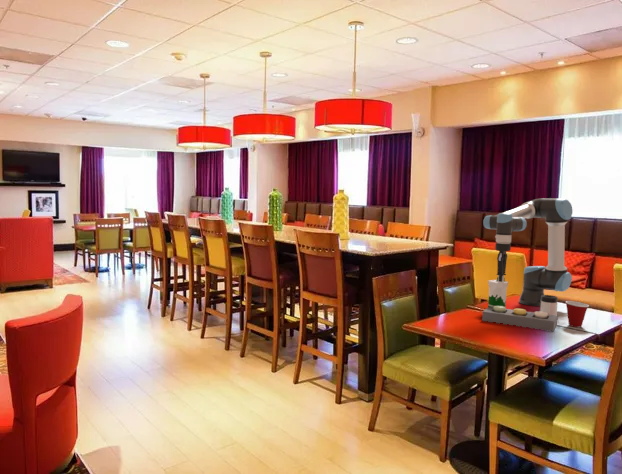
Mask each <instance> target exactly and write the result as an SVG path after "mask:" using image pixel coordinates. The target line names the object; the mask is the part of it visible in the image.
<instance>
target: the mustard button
mask: <svg viewBox="0 0 622 474" xmlns="http://www.w3.org/2000/svg"><path fill="white" fill-rule="evenodd" d="M513 310H514V314H517V315H526V312H527V309H524V308H519V307H518V308H514V309H513Z"/></svg>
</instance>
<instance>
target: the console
mask: <svg viewBox="0 0 622 474" xmlns="http://www.w3.org/2000/svg"><path fill="white" fill-rule="evenodd" d="M534 313H535V312H533V311H526V315H517V314H514V309H510V308H506V312H496V311H494V307H488V306H487V308H485V309H484V310H482V318H481V319H482V322H487V321H488V323H493V322H496V323H495V324H500V323H503V324H502V325H507V324H509V326H513V325H516V326H515V327H520V326H522V327H521V328H526V327H529V328H528V329H533V328H535V329H534V330H539V329H542V330H541V331H546V330H548V332H552V331H555V329H556V328H557V327H558V317H559V316H558V315H557V316H555V315H548V314H547V318H538V317H535V316H534Z"/></svg>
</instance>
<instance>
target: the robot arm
mask: <svg viewBox="0 0 622 474" xmlns="http://www.w3.org/2000/svg"><path fill="white" fill-rule="evenodd" d="M572 206H573V205H572V203H571V202H570V201H569V199H566V198H560V197H559V198H557V197H556V198H551V197H549V198H546V197H545V198H544V197H543V198H542V197H541V198H535V199H532V200H528V201H526V202H524V203H522V204H521V205H519V206H517V207H515V208H512V209H510V210H506V211H504V212H500V213H498V214H495V215H486V216H484V219H483V221H482V222H483V227H484V228H485V229H488V230H496V232H495V236H494V238H495V242H496V243H494V244H495V246H494V248H495V249H494V250H496V251H498V254H497V258H496V259H497V271H496V272H497V273H496V276H497V277H498V287H499V288H504V278H505V276H506V275H507V274H506V268H507V259H508V254H507V252H510V251H511V248H512V244H511V243H512V232H522V231H524V230H526V228H527V224H528V223H527V220H526V219H532V218H534V219H535V218H540V219H545V220H544V221H545V224H546V225H547V228H548V230H547V234H548V235H547V265H546V266H545V265H533V266H531V265H530V266H526V267H524V269H523V281H522V283H523V285H522V291H521V294H520V297H519V298H518V301H519V302H518V303H519V304H522V305H525V306H531V307H540V303H541V296H542V295H545V292H544V291H545V290H551V291H554V292H563V293H564V292H566V291H567V290H568V289H569V288H570V286H571V284H572V280H573V279H572V278H573V277H572V273H570V272H569V271H568V267H567V266H565V245H566V243H565V237H566V233H565V232H566V229H565V227H566V224H567V223H568V222H569V220H570V219H571V218H572V215H573V207H572Z"/></svg>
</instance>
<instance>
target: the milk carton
mask: <svg viewBox="0 0 622 474" xmlns="http://www.w3.org/2000/svg"><path fill="white" fill-rule="evenodd" d="M505 279H506V277H504V288H499V287H498V276H497V278H496V279H491V280H487V285H488V304H487V308H488V307H494V306H504V307H507V305H506V302H507V289H508V285H509V281H506V280H505Z"/></svg>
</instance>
